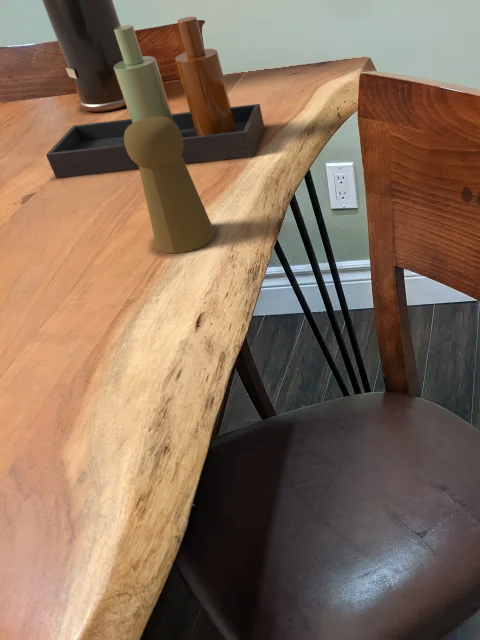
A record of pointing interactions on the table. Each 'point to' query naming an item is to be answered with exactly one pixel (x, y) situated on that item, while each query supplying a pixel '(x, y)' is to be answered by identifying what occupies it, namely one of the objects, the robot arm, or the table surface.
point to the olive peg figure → (168, 186)
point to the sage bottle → (139, 79)
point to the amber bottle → (203, 83)
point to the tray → (111, 155)
